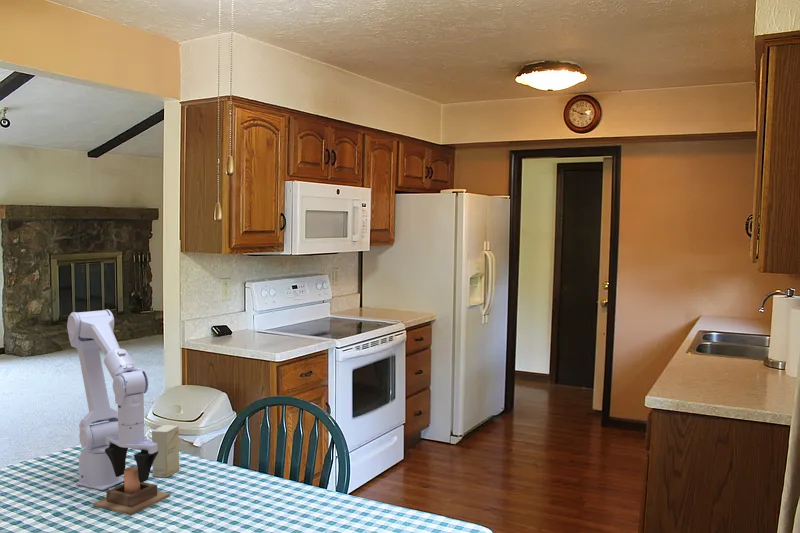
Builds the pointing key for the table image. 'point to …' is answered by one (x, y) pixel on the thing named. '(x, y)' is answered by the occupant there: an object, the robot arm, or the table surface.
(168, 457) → the skincare box
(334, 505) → the table surface
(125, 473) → the peg
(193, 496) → the table surface
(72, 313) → the robot arm
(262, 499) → the table surface
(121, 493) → the holder
